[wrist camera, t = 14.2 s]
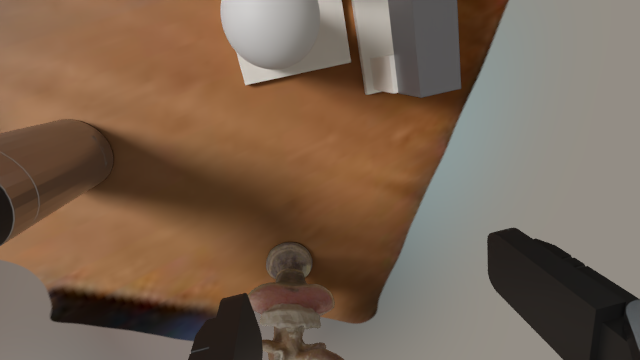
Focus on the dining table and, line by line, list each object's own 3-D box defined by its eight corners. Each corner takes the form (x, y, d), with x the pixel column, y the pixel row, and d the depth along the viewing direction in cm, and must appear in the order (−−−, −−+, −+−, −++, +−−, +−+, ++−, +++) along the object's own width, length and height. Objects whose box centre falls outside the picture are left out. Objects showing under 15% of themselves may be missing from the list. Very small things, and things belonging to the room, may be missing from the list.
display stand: (255, 118, 43) (238, 153, 25) (211, -44, 37) (147, -151, 19) (413, 83, 44) (505, 93, 26) (398, -80, 38) (506, -215, 20)
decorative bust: (271, 321, 53) (276, 486, 29) (243, 255, 51) (223, 377, 26) (331, 296, 54) (385, 435, 30) (307, 230, 52) (345, 325, 27)
